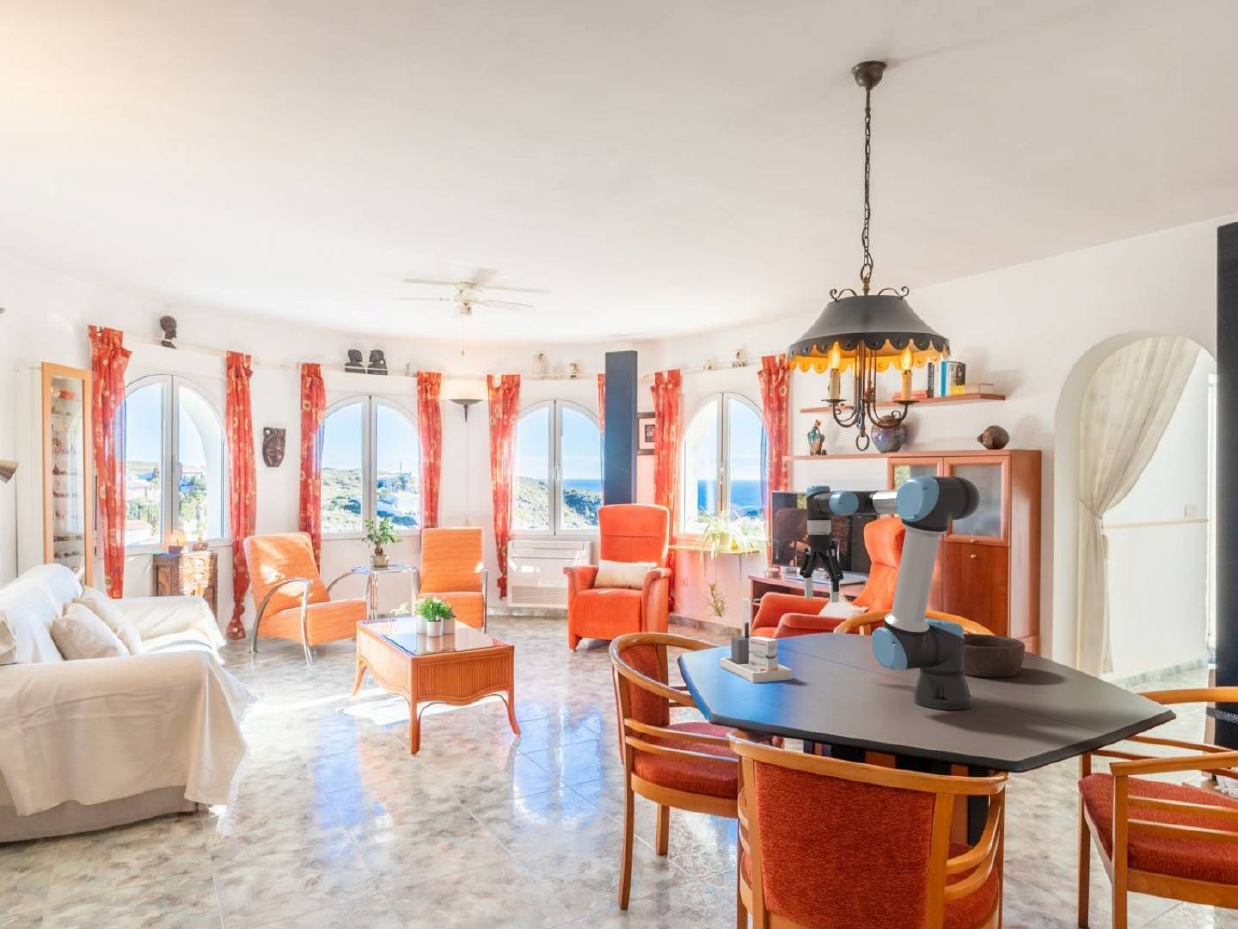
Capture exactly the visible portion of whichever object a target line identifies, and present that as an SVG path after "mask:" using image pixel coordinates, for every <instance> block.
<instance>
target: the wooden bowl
mask: <svg viewBox="0 0 1238 929" xmlns="http://www.w3.org/2000/svg"><path fill="white" fill-rule="evenodd" d="M964 638H965V640H964V673H965V676H970V677H975V678H976V677H979V678H989V679H1002V678H1003V679H1004V678H1005V679H1006V678H1012V677H1015V676H1016V675H1017V674H1019V672H1020V670H1021V668H1022V665H1023V663H1024V657H1025V651H1026V645H1025V643H1024V642H1023V641H1022V640H1019V639H1016V638H1012V637H1007V636H1000V635H994V634H985V633H984V634H982V633H980V634H979V633H964Z"/></svg>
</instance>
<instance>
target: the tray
mask: <svg viewBox="0 0 1238 929" xmlns="http://www.w3.org/2000/svg"><path fill="white" fill-rule="evenodd" d="M719 660H720V661H719V664H720V665H719V666H720V667H719V668H721V669H723V670H725V671H727V672H730V673H731V674H734V675H736V676H738V677H740V678H741V679H744V680H745V681H746V680H747V681H749V682H750V683H764V682H765V683H767V682H777V681H778V682H779V681H787V680H789V681H790V680H793V669H791V668H789V667H787V666H785V665H782V664H780V663H778V670H777V669H774V670H765V671H762V672H753V671H750V670H749V664H741V665H737V664H735V663H733V662H732V656H731V657H730V656H729V657H720V658H719Z"/></svg>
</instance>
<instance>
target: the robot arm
mask: <svg viewBox="0 0 1238 929" xmlns="http://www.w3.org/2000/svg"><path fill="white" fill-rule="evenodd" d="M980 497H981V496H980V492H979V490H978V487H977V485H975V484H974V483H973V482H972V481H970V480H969V479H967V478H965V477H961V476H937V475H936V476H933V475H921V476H913V477H909V478H908V479H906V480H905V481H904V482H902V483H901V484H900V486H899V487H898V488H895V489H881V490H880V489H879V490H842V489H841V490H832V491H831V487H830V486H829V485H811V486H807V488H806V497H805V500H806V518H807V520H806V526H807V527H806V532H807V533H808V535H807V545H808V546H809V547H805V548H804V551H803V552H804V554H803V558H802V562H801V565H800V569H799V576H802V578H803V588H804V599H813V598H814V586H813V585H814V584H813V583H814V581H813V573H814V571H815V569H816V568H817V565H818V564H821V565H823V566H824V569H825V570H826V573H827V575H828V576H829V600H830V601H829V603H832V604H833V603H835V604H836V603H840V594H839V592H840V581H842V580H844V579H845V576H844V574H843V571H842V568H841V564H840V562H839V558H838V556H837V555H838V554H837V549H834V548H833V549H830V547H831V546H832V545H833V542H832V541H833V538H832V534H831V533H832V516H861V515H865V516H866V515H867V516H872V515H874V516H875V515H877V516H880V515H895V514H896V515H898V516H899V518H900V519H901V521H900V522H901V525H902V526H903V528H904V529H905V534H904V540H903V545H902V551H901V557H900V561H899V568H898V573H897V579H896V585H895V590H894V596H893V602H892V607H891V611H890V612H889V613H887V614H885V616H884V617H883V618H884V619H883V622H882V623H883V625H882V627H881V626H879V627H877V628H875V630H873V631H872V634H871V639H870V643H871V646H870V647H871V650H872V653H873V655H874V657H875V659H876V660H877V662H878V663H879V665H880V666H881V667H883V668H884V669H886V670H888V671H900V672H901V671H906V670H913V669H914V670H915V669H919V675H918V677H917V678H918V679H917V681H916V686H915V689H914V690H913V702H914V703H915V704H918V705H919V706H923V707H926V708H931V709H938V710H947V711H962V710H968V709H970V708H972V706H973V697H972V695H971V693H970V688H969V685H968V683H967V679H966V675H965V673H964V640H965V638H964V634H965V633H964V628H963V626H962V625H961V624H960V623H959V622H955V621H950V620H945V619H944V620H943V619H939V618H938V619H936V618H929V617H926V615H927V614H926V613H927V608H928V603H929V596H930V592H931V587H932V581H933V576H934V572H935V565H936V560H937V555H938V549H939V546H940V538H941V536H942V535H944V534H946V533H947V532H948V531H949V525H950V521H959V520H964V519H967V518H968V517H970V516H972V515H973V514H974V513H975V512H976V511H977V509H978V507H979V505H980V501H981V498H980Z"/></svg>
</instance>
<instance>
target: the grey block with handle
mask: <svg viewBox="0 0 1238 929" xmlns="http://www.w3.org/2000/svg"><path fill="white" fill-rule="evenodd" d="M749 623H750V622H747V621H746V622H744V635H743V636H732V637H731V636H730V638H731V640H730V641H731V644H730V645H731V646H730V647H731V648H730V649H731V657H732V662H733V663H735V664H737V665H741V664H749V638H750V637H757V636H758V635H750V629H749V628H750V624H749Z"/></svg>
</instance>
